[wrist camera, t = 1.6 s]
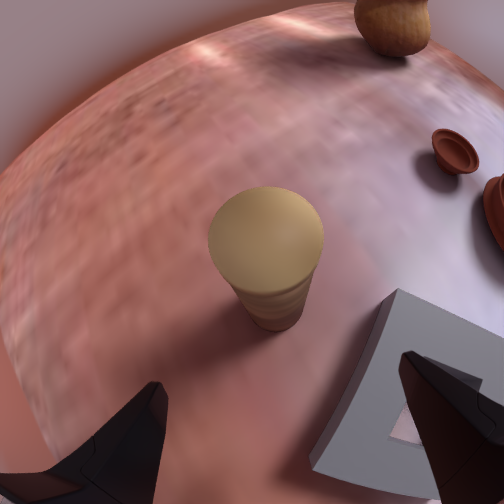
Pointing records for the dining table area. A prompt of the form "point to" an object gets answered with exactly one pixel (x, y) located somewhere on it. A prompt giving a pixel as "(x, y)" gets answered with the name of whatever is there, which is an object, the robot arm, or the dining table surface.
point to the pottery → (466, 161)
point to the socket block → (402, 394)
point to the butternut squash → (393, 25)
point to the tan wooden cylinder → (268, 252)
